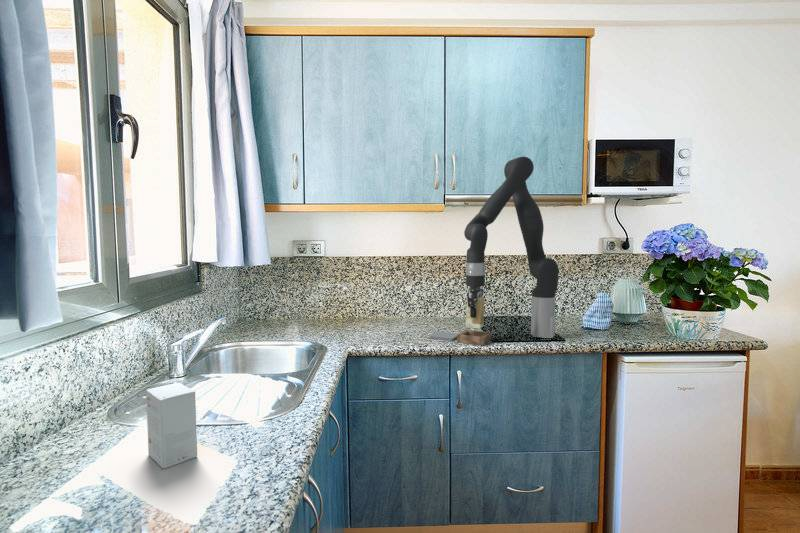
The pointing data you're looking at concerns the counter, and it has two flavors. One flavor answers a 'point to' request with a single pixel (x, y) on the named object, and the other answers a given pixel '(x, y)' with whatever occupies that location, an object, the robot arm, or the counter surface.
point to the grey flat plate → (444, 336)
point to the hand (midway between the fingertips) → (475, 316)
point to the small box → (171, 424)
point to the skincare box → (479, 318)
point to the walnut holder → (474, 337)
